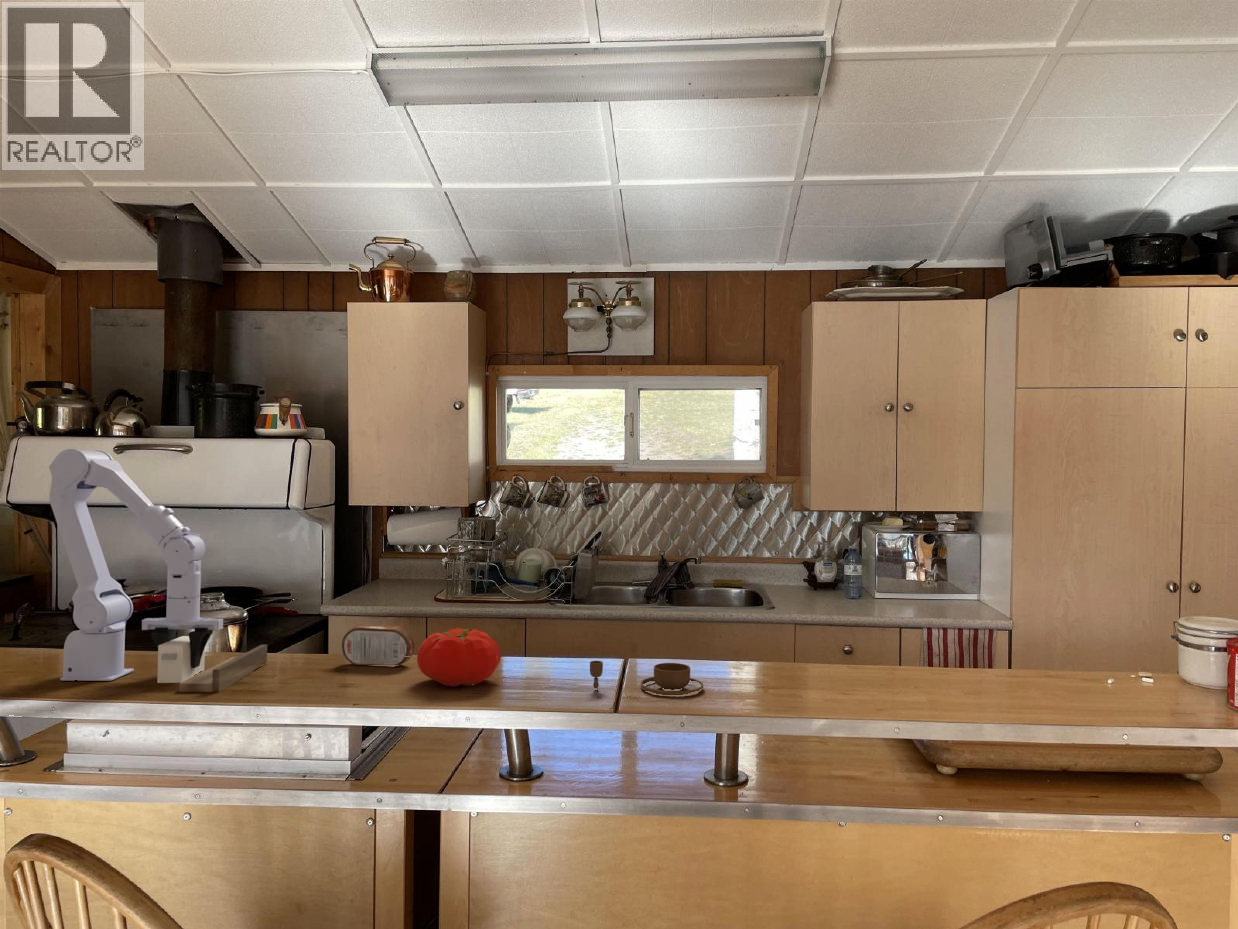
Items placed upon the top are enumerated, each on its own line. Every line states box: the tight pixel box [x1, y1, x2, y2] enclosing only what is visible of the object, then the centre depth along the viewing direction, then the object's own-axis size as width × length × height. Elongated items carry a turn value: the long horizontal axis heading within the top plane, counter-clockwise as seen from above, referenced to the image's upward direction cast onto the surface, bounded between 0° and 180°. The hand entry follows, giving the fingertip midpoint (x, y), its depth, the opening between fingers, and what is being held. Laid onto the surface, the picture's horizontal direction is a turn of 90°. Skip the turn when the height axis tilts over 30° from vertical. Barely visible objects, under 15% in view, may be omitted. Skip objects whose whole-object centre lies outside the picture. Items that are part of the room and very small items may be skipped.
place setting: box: [589, 660, 704, 695], centre depth 152 cm, size 18×20×6 cm
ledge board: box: [178, 644, 268, 693], centre depth 155 cm, size 7×22×4 cm, turn 3°
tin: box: [341, 623, 415, 666], centre depth 166 cm, size 15×3×8 cm, turn 84°
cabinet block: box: [156, 635, 206, 684], centre depth 154 cm, size 4×10×7 cm, turn 3°
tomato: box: [416, 627, 502, 687], centre depth 153 cm, size 14×16×10 cm
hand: (181, 666), depth 155 cm, fingers closed on cabinet block, 4 cm apart
